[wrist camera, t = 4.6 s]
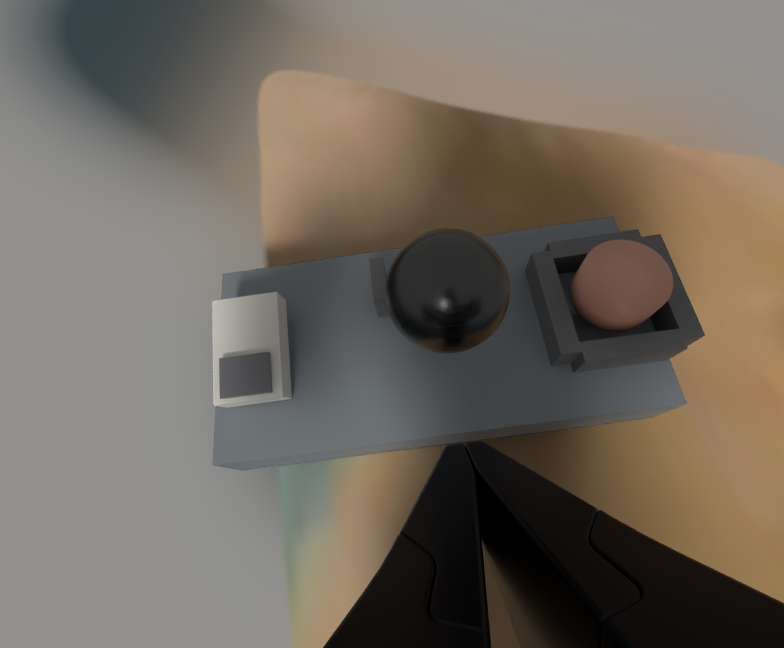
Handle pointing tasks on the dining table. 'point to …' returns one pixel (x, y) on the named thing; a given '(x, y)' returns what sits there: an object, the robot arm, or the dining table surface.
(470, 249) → the toggle lever
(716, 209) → the dining table surface
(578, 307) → the push button
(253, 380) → the rocker switch
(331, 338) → the panel
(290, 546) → the dining table surface
